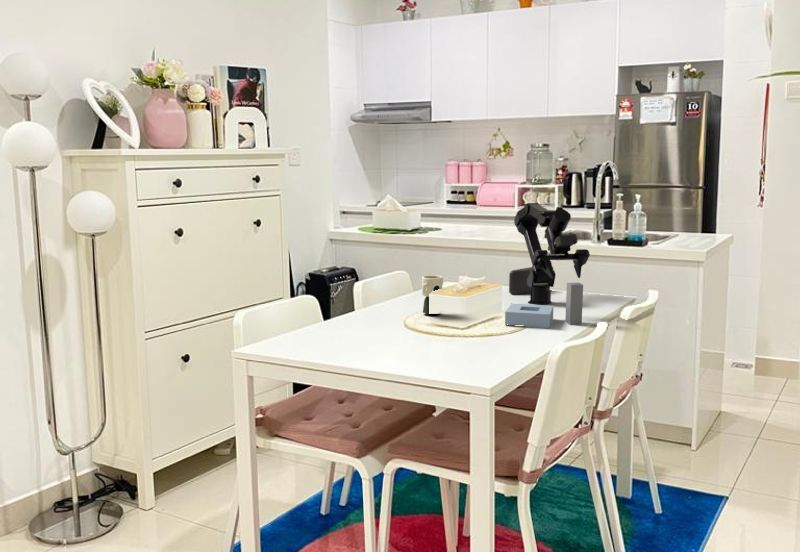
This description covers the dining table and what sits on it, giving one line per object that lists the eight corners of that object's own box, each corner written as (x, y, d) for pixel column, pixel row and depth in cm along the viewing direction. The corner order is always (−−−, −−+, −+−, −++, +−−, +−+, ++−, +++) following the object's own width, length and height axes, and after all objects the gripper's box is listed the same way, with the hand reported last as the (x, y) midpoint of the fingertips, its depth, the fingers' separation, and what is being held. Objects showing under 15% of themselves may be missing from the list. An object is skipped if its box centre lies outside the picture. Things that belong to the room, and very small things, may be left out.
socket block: (510, 316, 275) (511, 303, 274) (553, 318, 271) (553, 305, 270) (505, 325, 262) (505, 311, 261) (549, 328, 258) (549, 314, 257)
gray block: (565, 322, 267) (566, 282, 265) (577, 321, 267) (578, 282, 265) (569, 324, 263) (571, 285, 261) (581, 324, 264) (583, 284, 261)
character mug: (432, 318, 271) (432, 280, 269) (414, 316, 275) (414, 278, 273) (449, 313, 280) (449, 275, 278) (432, 310, 284) (432, 273, 282)
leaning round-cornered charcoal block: (517, 296, 310) (517, 271, 309) (507, 294, 313) (508, 270, 312) (543, 290, 321) (543, 267, 320) (533, 289, 324) (534, 265, 323)
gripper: (535, 226, 272) (545, 264, 263) (588, 225, 275) (600, 262, 266) (527, 246, 281) (536, 283, 272) (579, 245, 284) (590, 282, 275)
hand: (566, 277), depth 271 cm, fingers open, 9 cm apart
